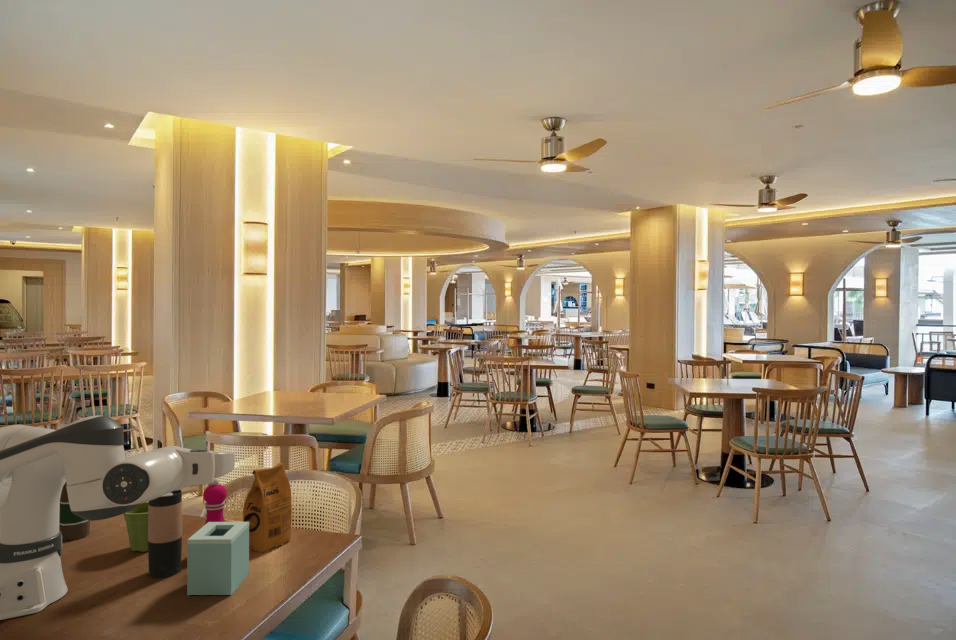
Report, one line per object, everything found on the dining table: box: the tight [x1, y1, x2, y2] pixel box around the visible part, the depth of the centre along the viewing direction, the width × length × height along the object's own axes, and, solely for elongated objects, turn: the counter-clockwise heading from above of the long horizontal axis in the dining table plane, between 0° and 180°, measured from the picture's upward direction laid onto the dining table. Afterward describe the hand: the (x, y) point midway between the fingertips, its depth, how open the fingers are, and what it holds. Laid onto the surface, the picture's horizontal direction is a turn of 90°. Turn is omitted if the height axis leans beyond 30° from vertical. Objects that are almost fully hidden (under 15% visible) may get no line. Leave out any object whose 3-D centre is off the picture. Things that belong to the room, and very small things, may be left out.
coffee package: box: [242, 462, 293, 553], centre depth 172 cm, size 10×12×22 cm
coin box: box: [186, 521, 250, 597], centre depth 146 cm, size 12×10×13 cm
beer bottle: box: [59, 481, 91, 541], centre depth 177 cm, size 8×8×24 cm
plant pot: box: [123, 501, 149, 553], centre depth 169 cm, size 12×12×11 cm
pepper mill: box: [202, 478, 228, 525], centre depth 166 cm, size 7×7×20 cm
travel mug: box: [147, 489, 183, 579], centre depth 153 cm, size 8×8×20 cm
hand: (197, 458), depth 134 cm, fingers open, 8 cm apart
